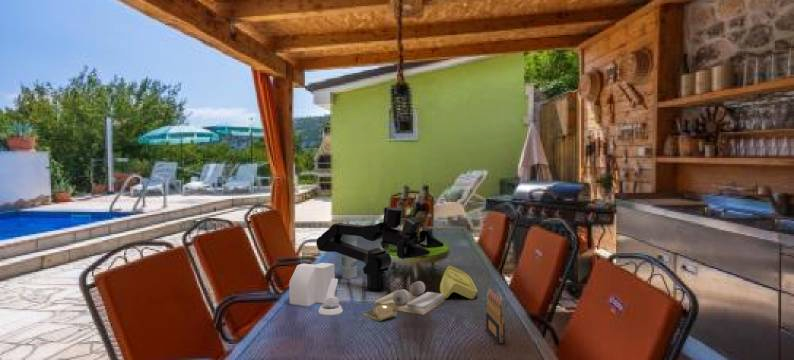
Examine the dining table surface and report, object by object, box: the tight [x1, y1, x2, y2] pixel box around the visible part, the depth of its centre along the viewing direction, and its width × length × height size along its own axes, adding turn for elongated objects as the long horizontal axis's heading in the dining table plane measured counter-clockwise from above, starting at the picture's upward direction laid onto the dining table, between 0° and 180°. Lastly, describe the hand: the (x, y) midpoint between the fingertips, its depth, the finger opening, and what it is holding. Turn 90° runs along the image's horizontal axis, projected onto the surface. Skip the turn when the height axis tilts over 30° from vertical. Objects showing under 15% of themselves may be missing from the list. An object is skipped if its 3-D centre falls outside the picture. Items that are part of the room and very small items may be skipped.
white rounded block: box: [288, 262, 336, 307], centre depth 168 cm, size 11×11×12 cm
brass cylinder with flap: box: [362, 302, 398, 322], centre depth 152 cm, size 6×9×4 cm, turn 41°
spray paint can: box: [340, 234, 358, 280], centre depth 199 cm, size 6×6×20 cm
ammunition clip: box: [485, 288, 506, 345], centre depth 134 cm, size 11×2×12 cm, turn 7°
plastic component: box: [439, 265, 478, 300], centre depth 177 cm, size 20×7×10 cm
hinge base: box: [373, 280, 445, 316], centre depth 164 cm, size 18×16×6 cm
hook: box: [317, 278, 343, 316], centre depth 159 cm, size 8×12×7 cm
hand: (436, 248), depth 167 cm, fingers open, 9 cm apart
